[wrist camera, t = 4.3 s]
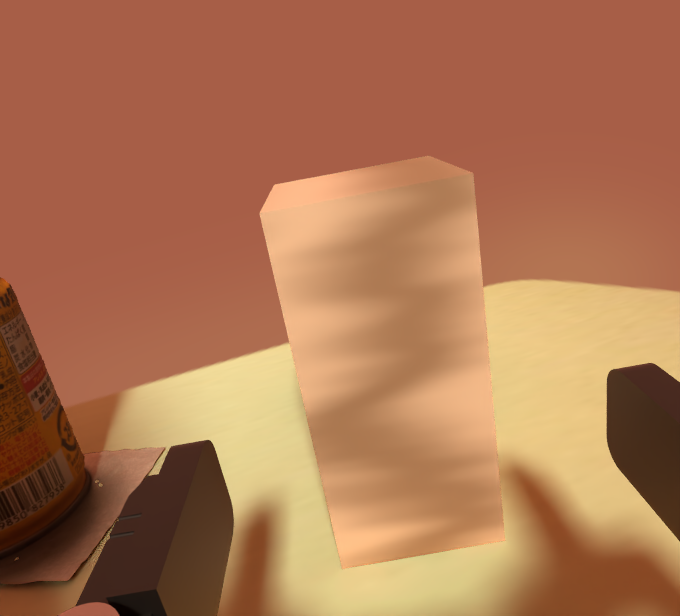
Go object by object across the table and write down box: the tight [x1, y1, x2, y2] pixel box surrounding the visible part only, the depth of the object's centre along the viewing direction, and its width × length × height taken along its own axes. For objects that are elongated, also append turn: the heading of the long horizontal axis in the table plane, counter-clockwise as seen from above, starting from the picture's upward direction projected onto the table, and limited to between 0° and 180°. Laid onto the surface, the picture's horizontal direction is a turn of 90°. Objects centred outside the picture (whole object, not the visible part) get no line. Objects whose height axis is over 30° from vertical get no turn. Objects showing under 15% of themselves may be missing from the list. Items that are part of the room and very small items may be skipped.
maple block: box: [260, 156, 505, 569], centre depth 17 cm, size 5×5×11 cm
